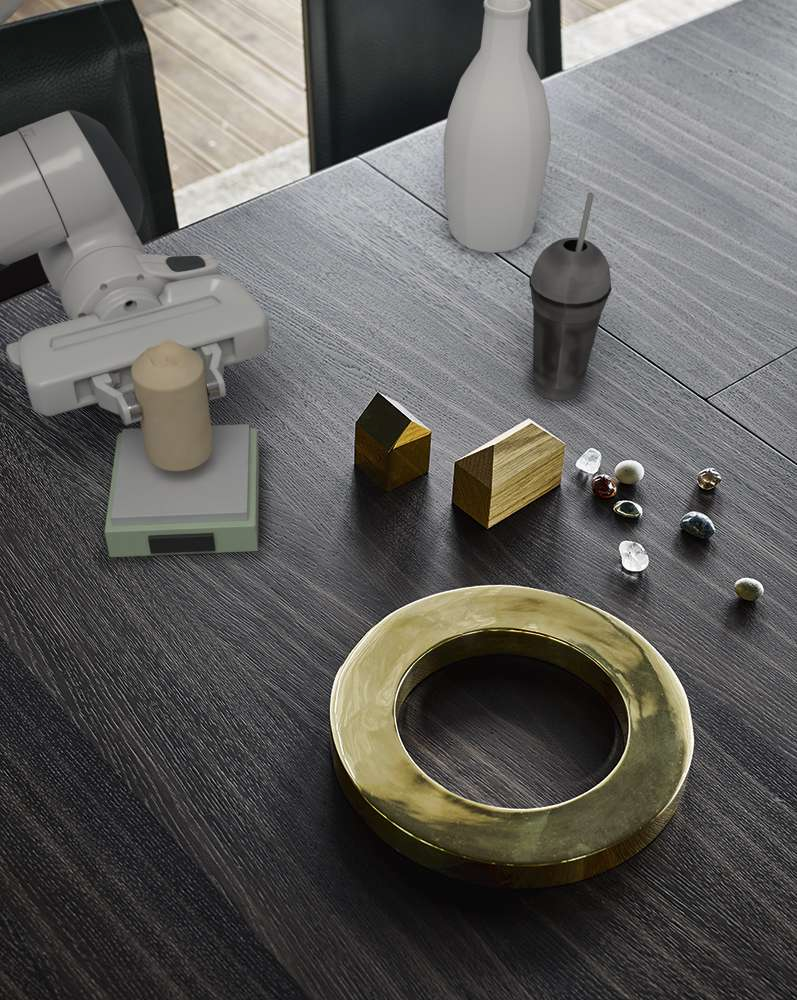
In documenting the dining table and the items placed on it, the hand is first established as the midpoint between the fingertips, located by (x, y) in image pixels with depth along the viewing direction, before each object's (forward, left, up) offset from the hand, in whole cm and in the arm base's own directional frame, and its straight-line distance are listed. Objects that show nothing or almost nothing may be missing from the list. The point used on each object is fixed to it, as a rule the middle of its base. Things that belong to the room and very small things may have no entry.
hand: (176, 403), depth 98 cm
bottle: (+31, +42, -12) cm, 53 cm away
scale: (0, +1, -12) cm, 12 cm away
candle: (0, +1, -6) cm, 6 cm away
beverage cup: (+34, +15, -12) cm, 39 cm away
